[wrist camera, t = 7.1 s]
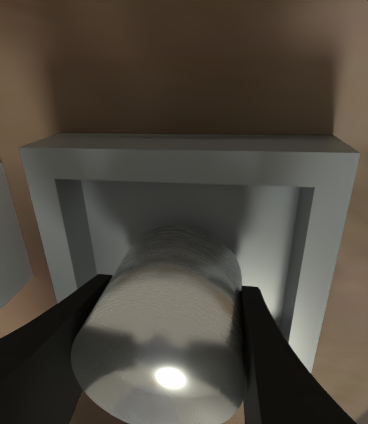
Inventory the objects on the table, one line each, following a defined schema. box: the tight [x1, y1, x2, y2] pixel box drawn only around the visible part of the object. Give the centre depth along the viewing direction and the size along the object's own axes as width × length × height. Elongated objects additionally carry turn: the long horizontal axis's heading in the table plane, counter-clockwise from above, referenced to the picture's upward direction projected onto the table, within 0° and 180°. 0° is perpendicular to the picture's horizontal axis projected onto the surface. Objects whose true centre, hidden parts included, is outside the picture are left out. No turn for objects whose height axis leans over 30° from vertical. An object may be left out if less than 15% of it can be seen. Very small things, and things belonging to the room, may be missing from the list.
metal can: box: [71, 225, 245, 424], centre depth 11 cm, size 5×5×5 cm
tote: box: [19, 133, 360, 373], centre depth 14 cm, size 12×12×3 cm
